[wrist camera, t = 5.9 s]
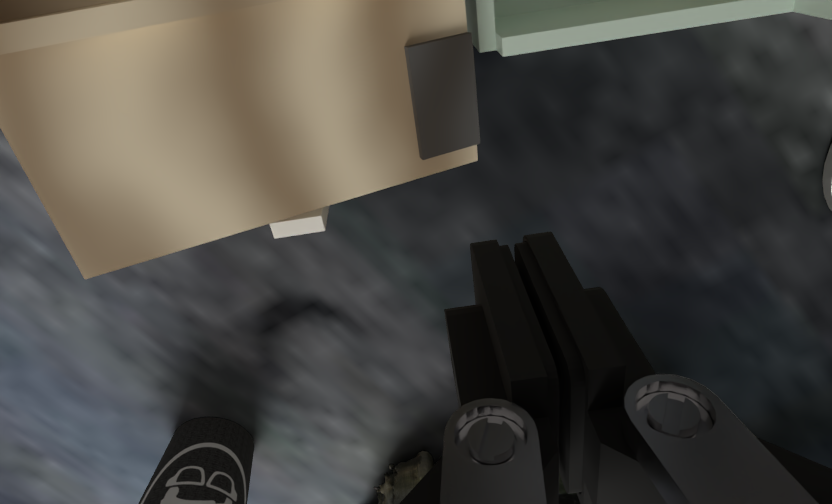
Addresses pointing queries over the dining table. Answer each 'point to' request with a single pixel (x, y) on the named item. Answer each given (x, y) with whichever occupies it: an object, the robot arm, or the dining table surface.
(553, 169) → the dining table surface
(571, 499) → the basket
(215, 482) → the coffee cup
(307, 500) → the dining table surface
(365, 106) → the beige flat panel
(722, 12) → the bin
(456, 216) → the dining table surface
